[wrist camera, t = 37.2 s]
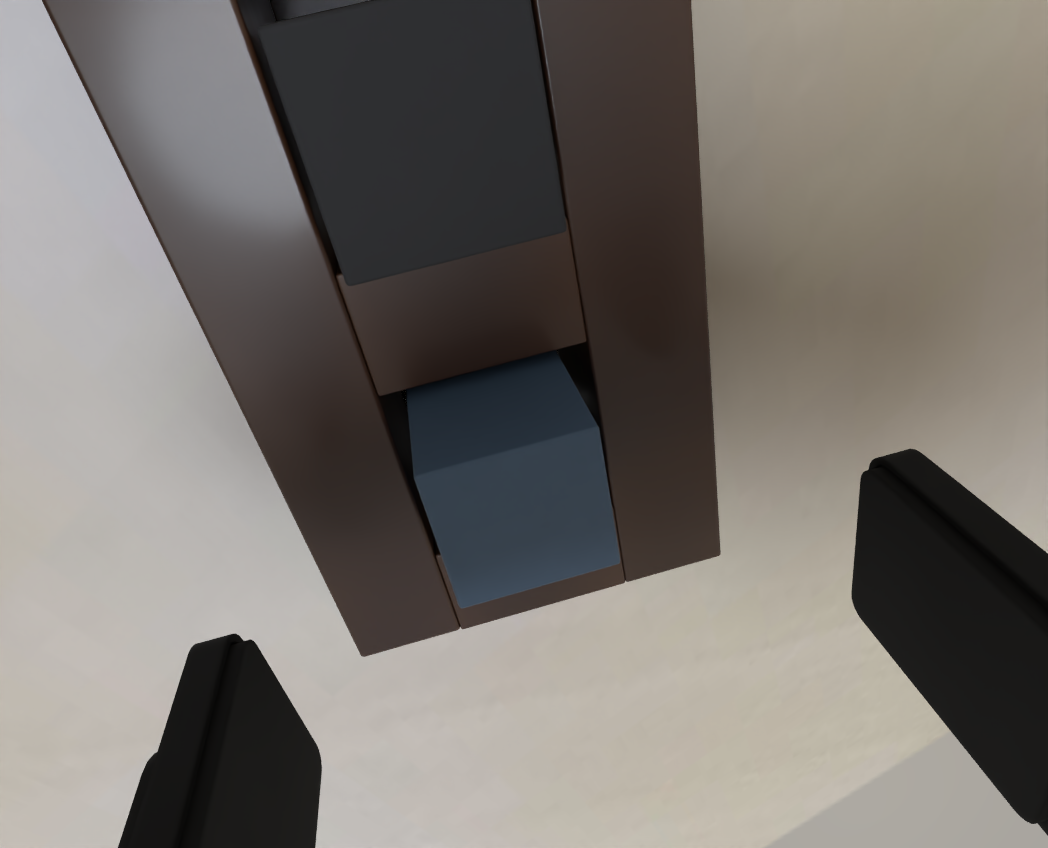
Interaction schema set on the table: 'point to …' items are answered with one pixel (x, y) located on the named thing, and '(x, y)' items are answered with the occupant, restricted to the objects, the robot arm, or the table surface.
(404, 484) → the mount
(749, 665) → the table surface
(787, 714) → the table surface
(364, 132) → the black rectangular block
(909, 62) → the table surface
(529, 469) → the blue rectangular block
